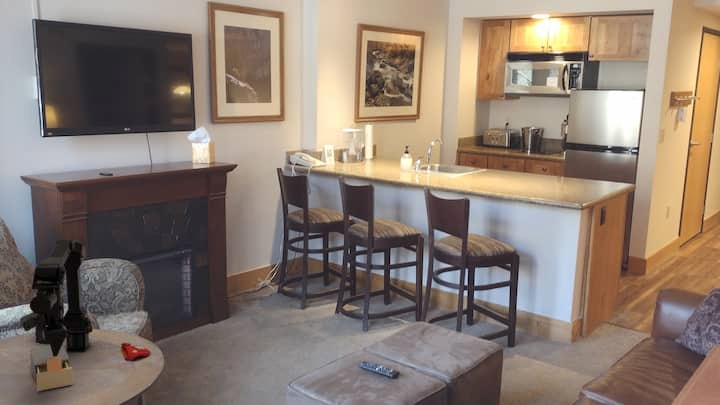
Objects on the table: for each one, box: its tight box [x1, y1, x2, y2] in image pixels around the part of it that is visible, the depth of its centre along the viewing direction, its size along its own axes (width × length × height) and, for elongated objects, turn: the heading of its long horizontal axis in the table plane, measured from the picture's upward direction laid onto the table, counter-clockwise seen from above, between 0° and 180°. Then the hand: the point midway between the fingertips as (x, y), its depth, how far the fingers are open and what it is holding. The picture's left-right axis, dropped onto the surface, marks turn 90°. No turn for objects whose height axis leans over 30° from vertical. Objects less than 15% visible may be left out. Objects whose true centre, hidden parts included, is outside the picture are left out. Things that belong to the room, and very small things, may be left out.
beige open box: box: [36, 357, 74, 392], centre depth 194 cm, size 14×10×10 cm
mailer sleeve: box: [29, 343, 70, 383], centre depth 201 cm, size 14×10×6 cm
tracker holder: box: [119, 341, 151, 361], centre depth 216 cm, size 12×4×10 cm
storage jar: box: [34, 297, 65, 345], centre depth 224 cm, size 10×10×15 cm
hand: (53, 350), depth 189 cm, fingers open, 9 cm apart
